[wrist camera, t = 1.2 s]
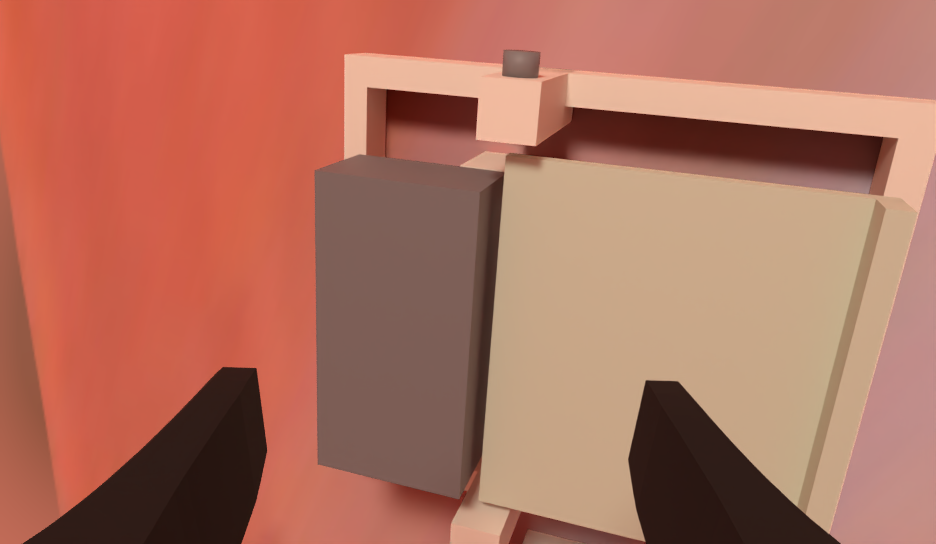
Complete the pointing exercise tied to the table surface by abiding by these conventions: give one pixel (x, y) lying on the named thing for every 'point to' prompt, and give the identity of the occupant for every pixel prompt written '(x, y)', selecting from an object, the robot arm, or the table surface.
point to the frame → (559, 90)
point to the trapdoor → (591, 324)
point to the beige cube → (545, 539)
